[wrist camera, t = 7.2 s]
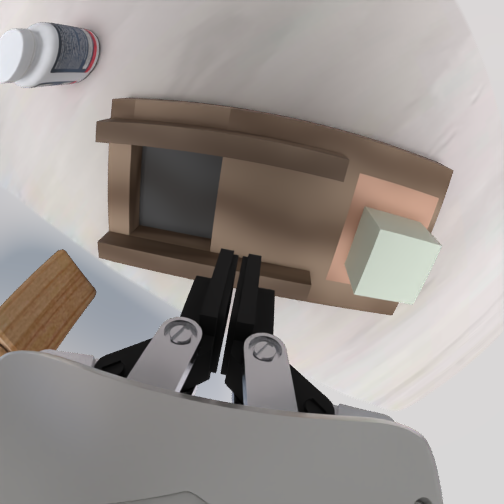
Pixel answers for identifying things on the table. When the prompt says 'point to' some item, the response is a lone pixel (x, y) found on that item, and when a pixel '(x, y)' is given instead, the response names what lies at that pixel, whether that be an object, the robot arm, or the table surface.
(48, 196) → the table surface
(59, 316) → the decorative item
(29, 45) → the pill bottle
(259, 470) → the robot arm
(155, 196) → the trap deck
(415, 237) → the sage block
